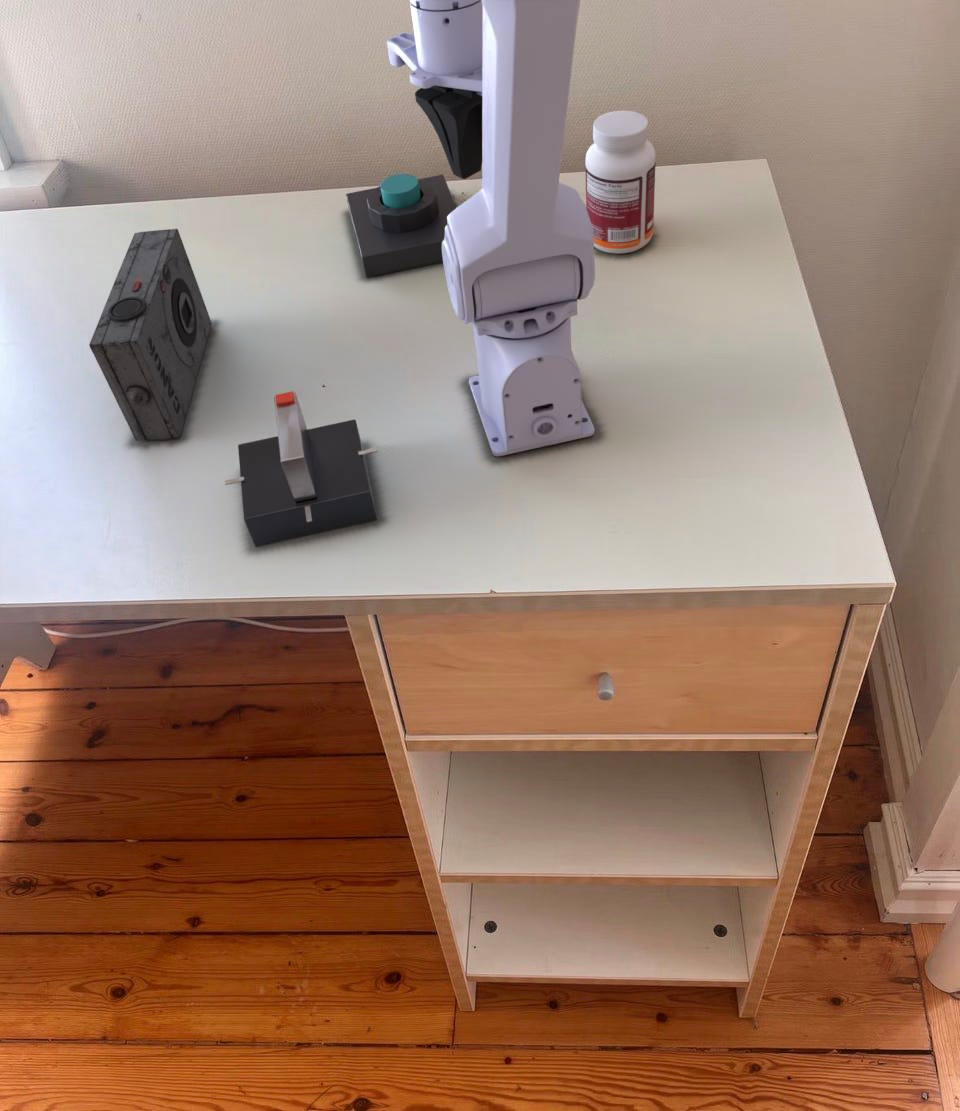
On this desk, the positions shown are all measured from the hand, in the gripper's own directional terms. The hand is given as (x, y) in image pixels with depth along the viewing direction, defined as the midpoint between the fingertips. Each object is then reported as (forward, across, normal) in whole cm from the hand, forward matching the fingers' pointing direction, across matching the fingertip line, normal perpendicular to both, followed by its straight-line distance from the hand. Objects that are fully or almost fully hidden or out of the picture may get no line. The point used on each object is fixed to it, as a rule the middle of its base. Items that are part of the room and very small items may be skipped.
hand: (467, 172), depth 81 cm
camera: (+11, -9, -27) cm, 30 cm away
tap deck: (+10, +11, -27) cm, 31 cm away
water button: (+7, -11, +1) cm, 13 cm away
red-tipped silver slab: (+7, +11, -27) cm, 30 cm away
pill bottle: (+11, +5, +13) cm, 18 cm away
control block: (+10, -11, +1) cm, 15 cm away
